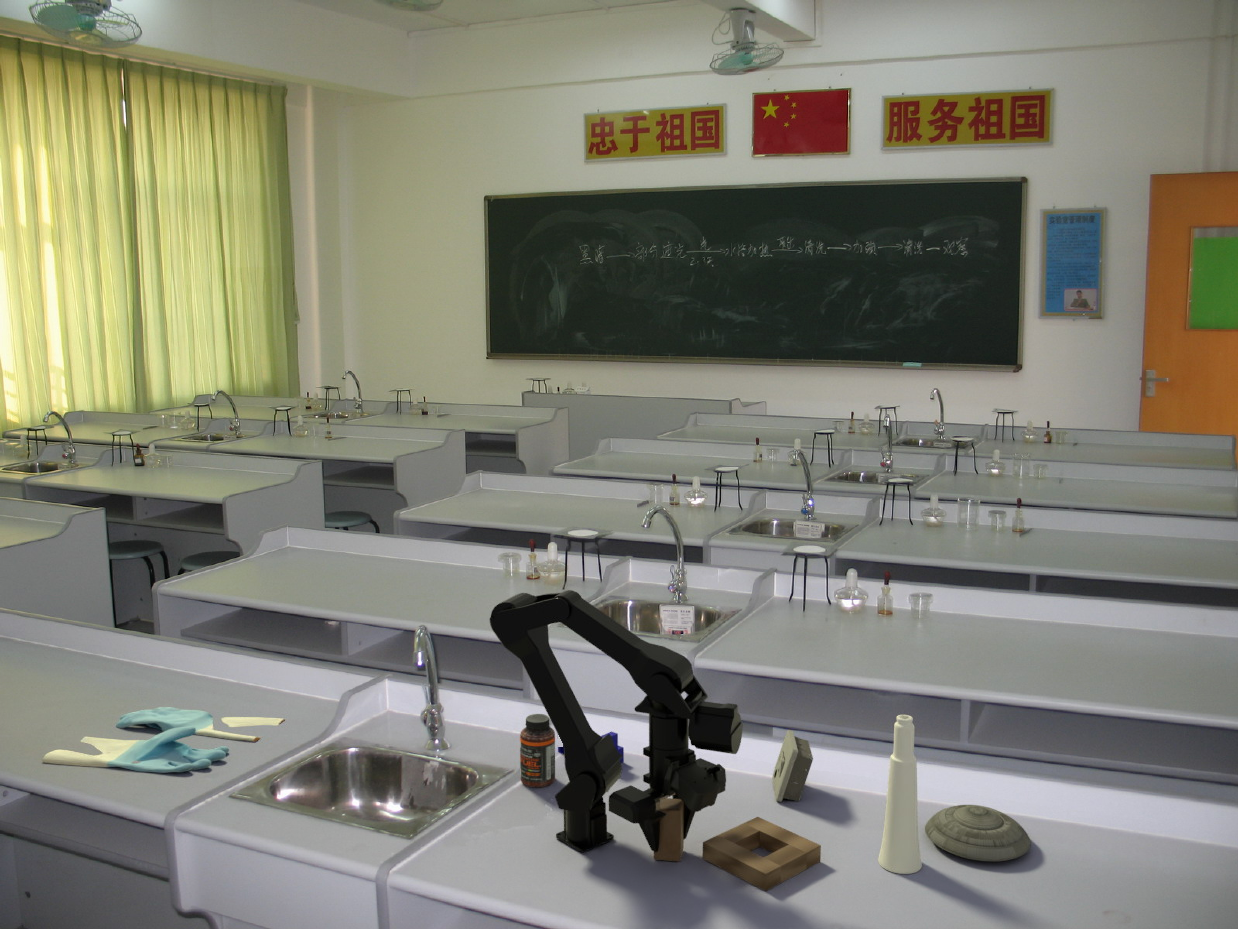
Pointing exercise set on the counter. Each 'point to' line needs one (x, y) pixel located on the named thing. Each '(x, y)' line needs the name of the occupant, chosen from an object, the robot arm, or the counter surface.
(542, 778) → the supplement bottle
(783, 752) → the electrical switch
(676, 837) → the wooden block
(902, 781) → the cosmetic bottle
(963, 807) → the flying saucer
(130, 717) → the rubber gloves
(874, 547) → the counter surface
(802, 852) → the socket collar
